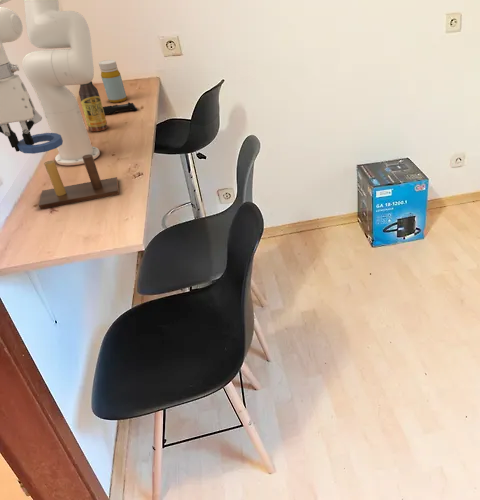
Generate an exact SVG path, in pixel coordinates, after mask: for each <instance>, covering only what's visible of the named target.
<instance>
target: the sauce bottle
mask: <svg viewBox="0 0 480 500" xmlns="http://www.w3.org/2000/svg"><path fill="white" fill-rule="evenodd" d="M78 95H79V99H80V104H81V108H82V111H83V115H84V118H85V120H86V125H87V128H88V130H89V131H90V132H96V133H97V132H102V131H104V130H107V129H108V124H107V123H108V122H107V119H106V114H104V110H103V107H104V106H103V103H102V99H101V97H100V93H99V91H98V88H97V87H96V86H95V85H94V84H93V80H92V81H91V82H90V83H87V84H80V85H79V90H78Z"/></svg>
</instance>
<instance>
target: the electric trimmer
mask: <svg viewBox="0 0 480 500" xmlns="http://www.w3.org/2000/svg"><path fill="white" fill-rule="evenodd" d="M102 107H103V110H104V114H105V115H111V114H115V113H121V112H128V111H134V112H136V111H138V108H137V107H136V105H135V104H134V103H133V102H129V101H128V102H127V103H123V104H114V105H113V104H112V105H106V106H105V105H104V106H102Z"/></svg>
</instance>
